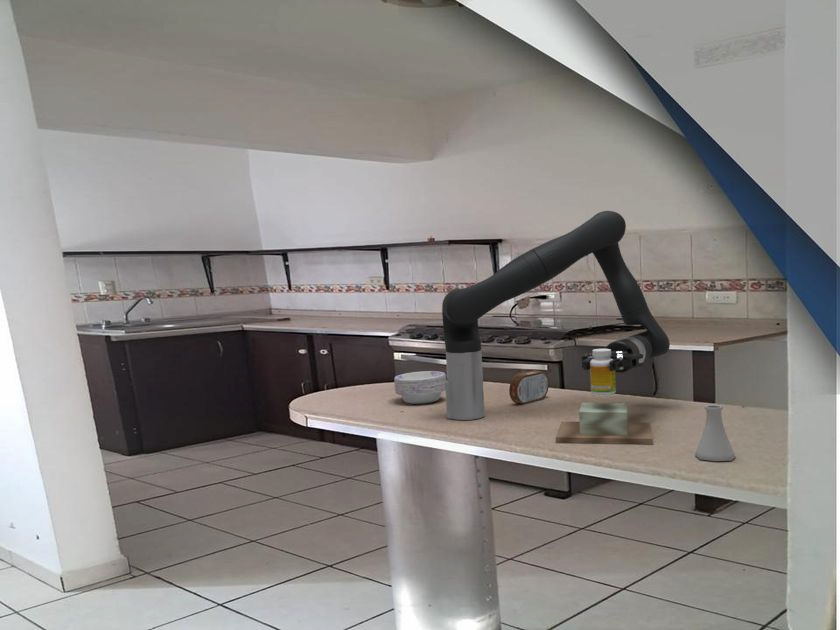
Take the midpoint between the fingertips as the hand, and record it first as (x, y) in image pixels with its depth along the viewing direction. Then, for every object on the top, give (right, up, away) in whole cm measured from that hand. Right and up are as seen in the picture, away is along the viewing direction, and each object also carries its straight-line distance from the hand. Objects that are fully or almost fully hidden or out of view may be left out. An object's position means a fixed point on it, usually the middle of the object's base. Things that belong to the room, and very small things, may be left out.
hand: (597, 365), depth 153 cm
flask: (+18, -17, -18) cm, 30 cm away
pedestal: (+2, -16, +3) cm, 16 cm away
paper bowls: (-38, -15, +53) cm, 67 cm away
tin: (-8, -14, +44) cm, 47 cm away
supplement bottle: (+2, -6, +3) cm, 7 cm away
